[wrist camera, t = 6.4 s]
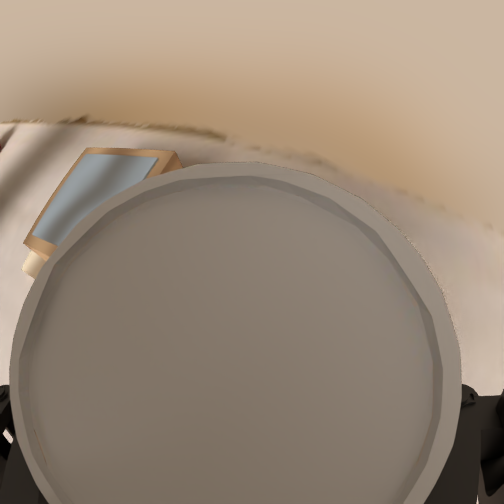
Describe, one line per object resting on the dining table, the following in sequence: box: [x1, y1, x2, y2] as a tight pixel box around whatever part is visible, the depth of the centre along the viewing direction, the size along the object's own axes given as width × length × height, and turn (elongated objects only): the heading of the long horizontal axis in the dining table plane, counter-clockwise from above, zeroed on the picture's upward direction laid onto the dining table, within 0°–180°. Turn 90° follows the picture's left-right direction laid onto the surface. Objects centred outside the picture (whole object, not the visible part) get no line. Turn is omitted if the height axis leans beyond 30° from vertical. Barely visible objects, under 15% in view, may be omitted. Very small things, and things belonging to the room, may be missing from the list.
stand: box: [21, 148, 183, 279], centre depth 23 cm, size 20×13×5 cm, turn 70°
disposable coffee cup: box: [9, 162, 462, 504], centre depth 9 cm, size 10×10×12 cm
